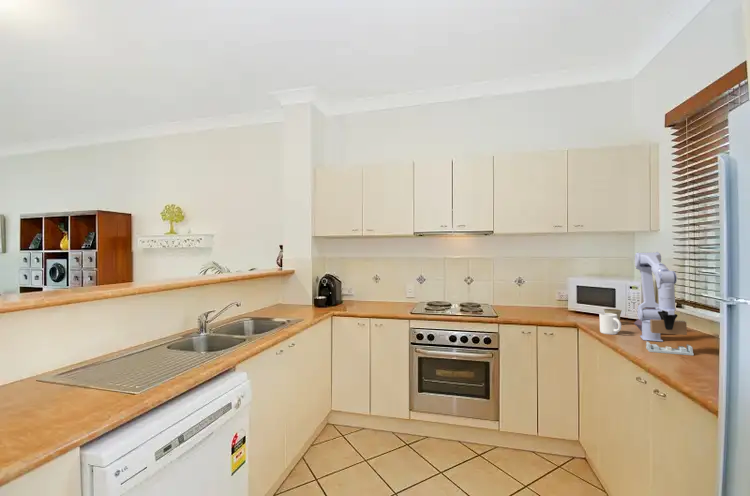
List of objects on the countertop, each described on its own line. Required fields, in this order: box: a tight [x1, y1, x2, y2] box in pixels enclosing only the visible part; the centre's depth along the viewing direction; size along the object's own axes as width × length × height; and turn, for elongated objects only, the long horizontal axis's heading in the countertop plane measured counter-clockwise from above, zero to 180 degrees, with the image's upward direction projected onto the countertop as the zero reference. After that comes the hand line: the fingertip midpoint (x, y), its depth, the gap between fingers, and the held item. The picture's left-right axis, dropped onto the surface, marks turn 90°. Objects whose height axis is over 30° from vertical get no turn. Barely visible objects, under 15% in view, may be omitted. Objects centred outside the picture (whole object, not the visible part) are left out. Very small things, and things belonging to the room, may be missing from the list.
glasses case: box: [650, 319, 688, 336], centre depth 158 cm, size 4×12×6 cm, turn 62°
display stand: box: [645, 341, 694, 356], centre depth 158 cm, size 7×15×3 cm, turn 62°
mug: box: [598, 312, 622, 336], centre depth 194 cm, size 12×8×10 cm
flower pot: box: [603, 308, 623, 322], centre depth 219 cm, size 9×9×9 cm
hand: (667, 328), depth 159 cm, fingers closed on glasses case, 4 cm apart
